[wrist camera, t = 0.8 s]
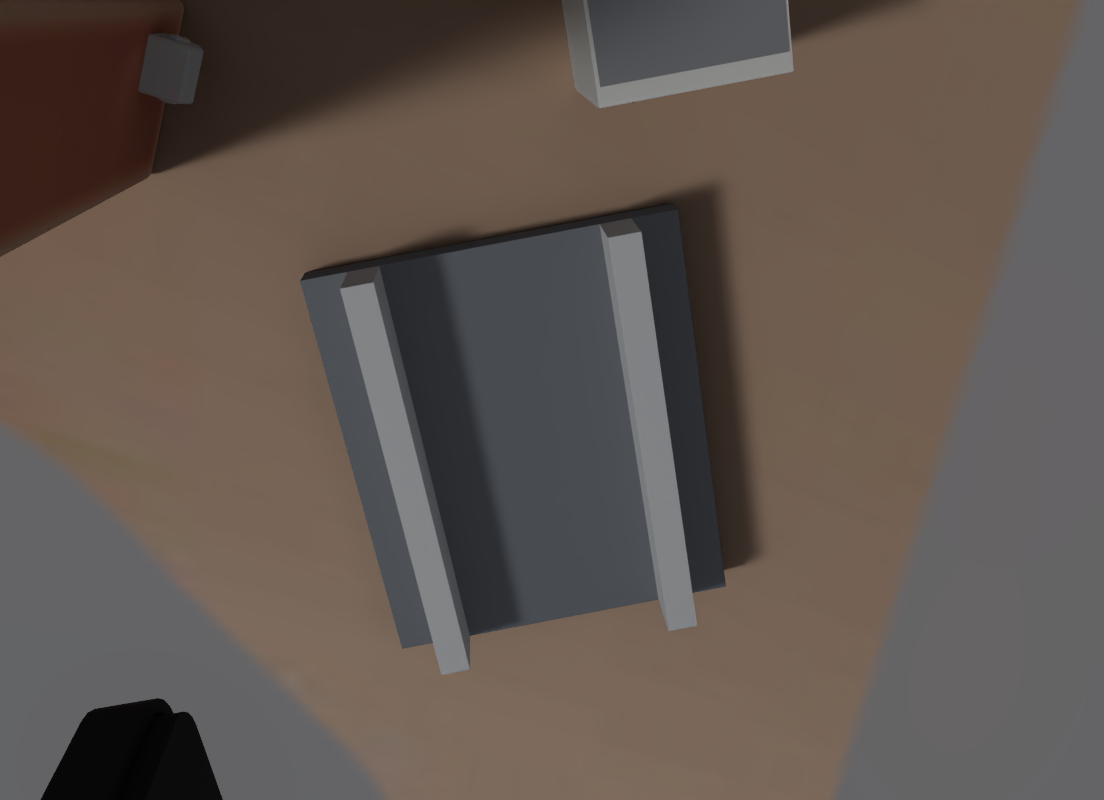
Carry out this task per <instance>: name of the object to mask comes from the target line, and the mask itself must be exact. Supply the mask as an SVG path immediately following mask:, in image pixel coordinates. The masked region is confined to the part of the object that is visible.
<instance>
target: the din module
mask: <svg viewBox="0 0 1104 800" xmlns="http://www.w3.org/2000/svg"><path fill="white" fill-rule="evenodd" d="M561 1H562V7H563V14H564V20H565V26H566V33H567V39H568V45H569V52H570V58H571V64H572V71H573V77H574V83H575V90H576V91H578V92H579V93H580V94H582V95H583V96H584V97H585V98H587V99H588V100H589V101H591V102H592V103H593V104H594V105H596V106H597V107H598V108H603V107H609V106H614V105H619V104H624V103H630V102H635V101H640V100H646V99H651V98H656V97H661V96H667V95H672V94H677V93H683V92H688V91H693V90H698V89H704V88H709V87H714V86H720V85H725V84H730V83H735V82H741V81H746V80H751V79H757V78H762V77H767V76H773V75H778V74H783V73H788V72H794V70H793V58H792V45H791V32H790V19H789V6H788V0H561Z"/></svg>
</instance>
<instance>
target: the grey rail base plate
mask: <svg viewBox="0 0 1104 800" xmlns="http://www.w3.org/2000/svg"><path fill="white" fill-rule="evenodd" d="M300 282H301V285H302V289H303V293H304V296H305V300H306V303H307V307H308V311H309V314H310V318H311V321H312V325H313V329H314V332H315V336H316V339H317V343H318V347H319V350H320V354H321V357H322V361H323V365H324V368H325V372H326V375H327V379H328V383H329V386H330V390H331V393H332V397H333V401H334V404H335V408H336V411H337V415H338V419H339V422H340V426H341V429H342V433H343V437H344V440H345V444H346V447H347V451H348V455H349V458H350V462H351V465H352V469H353V473H354V476H355V480H356V483H357V487H358V491H359V494H360V498H361V501H362V505H363V509H364V512H365V516H366V519H367V523H368V527H369V530H370V534H371V537H372V541H373V545H374V548H375V552H376V556H377V559H378V563H379V566H380V570H381V574H382V577H383V581H384V584H385V588H386V592H387V595H388V599H389V602H390V606H391V610H392V613H393V617H394V620H395V624H396V628H397V631H398V635H399V638H400V642H401V646H402V649H403V648H408V647H413V646H419V645H424V644H429V643H433V645H434V649H435V652H436V656H437V660H438V664H439V668H440V671H441V675H444V674H449V673H454V672H459V671H465V670H470V636H471V635H476V634H481V633H486V632H491V631H497V630H502V629H507V628H512V627H517V626H523V625H528V624H533V623H538V622H543V621H549V620H554V619H559V618H564V617H569V616H575V615H580V614H585V613H590V612H595V611H601V610H606V609H611V608H616V607H621V606H627V605H632V604H637V603H642V602H647V601H653V600H658V599H659V602H660V605H661V609H662V612H663V615H664V618H665V621H666V624H667V627H668V631H672V630H678V629H683V628H688V627H693V626H697V622H696V615H695V608H694V601H693V594H692V593H694V592H699V591H705V590H710V589H715V588H720V587H725V586H726V584H725V576H724V568H723V560H722V552H721V544H720V536H719V528H718V520H717V512H716V505H715V497H714V489H713V481H712V473H711V465H710V457H709V449H708V441H707V433H706V425H705V417H704V409H703V402H702V394H701V386H700V378H699V370H698V362H697V354H696V346H695V338H694V330H693V322H692V314H691V306H690V299H689V291H688V283H687V275H686V267H685V259H684V251H683V243H682V235H681V227H680V219H679V211H678V208H676V207H675V206H674V205H673V204H672V203H671V204H666V205H661V206H655V207H650V208H645V209H640V210H634V211H629V212H624V213H619V214H613V215H608V216H603V217H597V218H592V219H587V220H582V221H576V222H571V223H566V224H560V225H555V226H550V227H545V228H539V229H534V230H529V231H524V232H518V233H513V234H508V235H502V236H497V237H492V238H487V239H481V240H476V241H471V242H466V243H460V244H455V245H450V246H444V247H439V248H434V249H429V250H423V251H418V252H413V253H407V254H402V255H397V256H392V257H386V258H381V259H376V260H371V261H365V262H360V263H355V264H349V265H344V266H339V267H334V268H328V269H323V270H318V271H313V272H307V273H305V274H304V276H303V277H302V279H301V280H300Z"/></svg>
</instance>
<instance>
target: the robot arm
mask: <svg viewBox="0 0 1104 800" xmlns="http://www.w3.org/2000/svg"><path fill="white" fill-rule="evenodd" d="M41 800H223V799H222V796H221V794H220V791H219V788H218V785H217V782H216V780H215V777H214V774H213V771H212V768H211V765H210V763H209V760H208V757H207V754H206V752H205V749H204V746H203V743H202V740H201V737H200V734H199V732H198V729H197V726H196V724H195V721H194V720H193V717H192V716H191V715H190V714H189V713H187V712H179V713H174V714H173V712H172V709H171V708H170V706H169V705H168V704H167V703H166V702H165V700H162V699H158V698H157V699H151V700H145V701H139V702H133V703H128V704H122V705H116V706H110V707H104V708H98V709H94V710H92V711H90V712H88V713H87V714H86V716H85V717H84V719H83V720H82V721H81V723H80V725H79V727H78V729H77V731H76V733H75V735H74V737H73V738H72V740H71V743H70V744H69V746H68V748H67V750H66V752H65V754H64V756H63V758H62V760H61V762H60V763H59V765H58V767H57V769H56V771H55V773H54V775H53V777H52V779H51V781H50V783H49V785H48V786H47V788H46V790H45V792H44V794H43V796H42V798H41Z"/></svg>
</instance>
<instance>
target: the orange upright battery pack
mask: <svg viewBox="0 0 1104 800" xmlns="http://www.w3.org/2000/svg"><path fill="white" fill-rule="evenodd" d="M183 14H184V7H183V3H182V2H181V1H180V0H0V257H1V256H3V255H4V254H6V253H8V252H10V251H12V250H14V249H16V248H17V247H19V246H21V245H23V244H25V243H27V242H29V241H30V240H32V239H34V238H36V237H38V236H40V235H42V234H44V233H45V232H47V231H49V230H51V229H53V228H55V227H57V226H58V225H60V224H62V223H64V222H66V221H68V220H70V219H72V218H73V217H75V216H77V215H79V214H81V213H83V212H85V211H86V210H88V209H90V208H92V207H94V206H96V205H98V204H100V203H101V202H103V201H105V200H107V199H109V198H111V197H113V196H114V195H116V194H118V193H120V192H122V191H124V190H126V189H128V188H129V187H131V186H133V185H135V184H137V183H139V182H141V181H142V180H144V179H146V178H148V177H149V175H150V174H151V173H152V168H153V163H154V158H155V153H156V148H157V143H158V138H159V133H160V128H161V123H162V118H163V113H164V108H165V103H169V104H191V103H193V100H194V95H195V91H196V86H197V81H198V76H199V72H200V67H201V62H202V58H203V53H204V51H203V49H202V48H201V47H200V46H199V45H197V44H194V43H191V41H190V40H189V39H187V38H185V37H183V36H180V35H179V34H180V29H181V24H182V19H183Z"/></svg>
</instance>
